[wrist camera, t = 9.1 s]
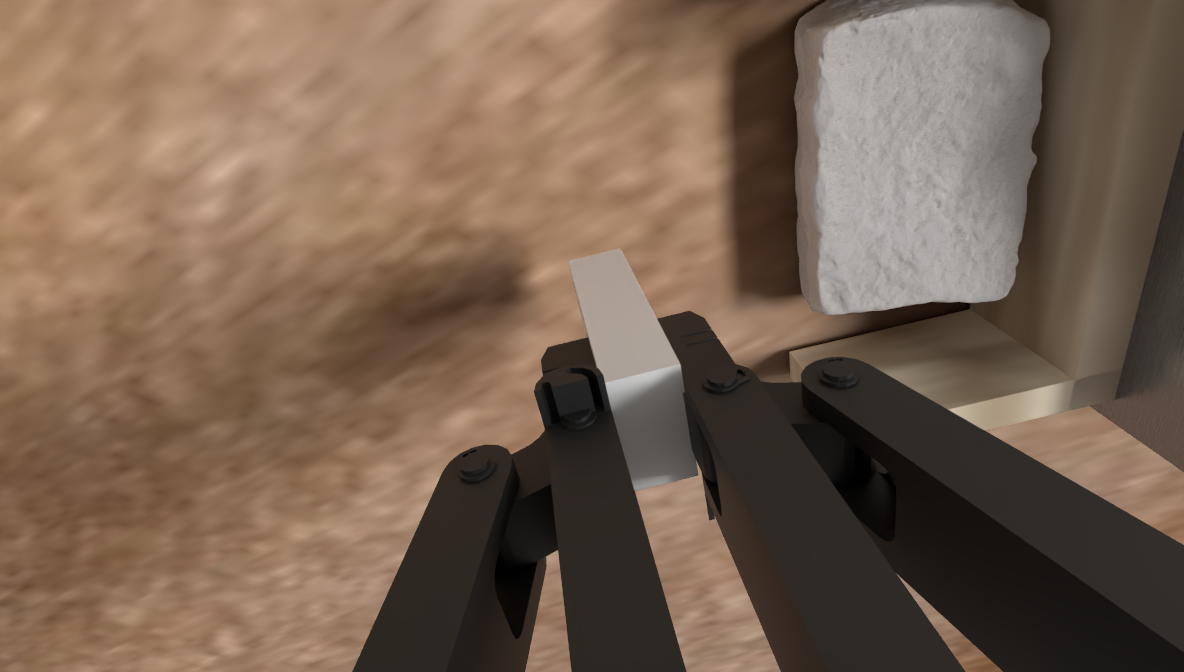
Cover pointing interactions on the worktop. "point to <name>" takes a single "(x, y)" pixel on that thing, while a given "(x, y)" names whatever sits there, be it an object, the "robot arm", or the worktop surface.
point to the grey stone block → (914, 149)
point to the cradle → (1062, 229)
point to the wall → (1158, 340)
